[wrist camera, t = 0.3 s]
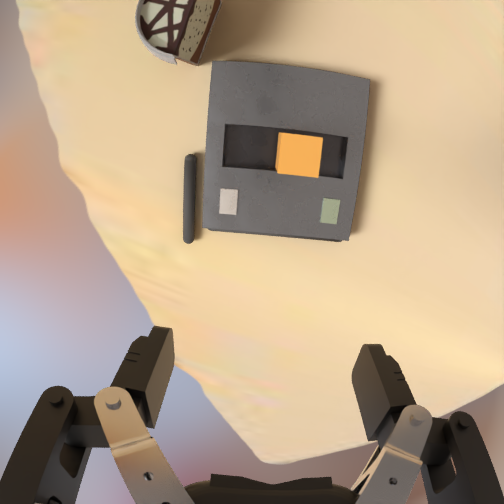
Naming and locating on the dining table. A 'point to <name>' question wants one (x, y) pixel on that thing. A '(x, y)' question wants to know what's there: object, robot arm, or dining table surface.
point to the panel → (265, 149)
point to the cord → (274, 234)
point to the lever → (298, 154)
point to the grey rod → (189, 198)
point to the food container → (176, 27)
